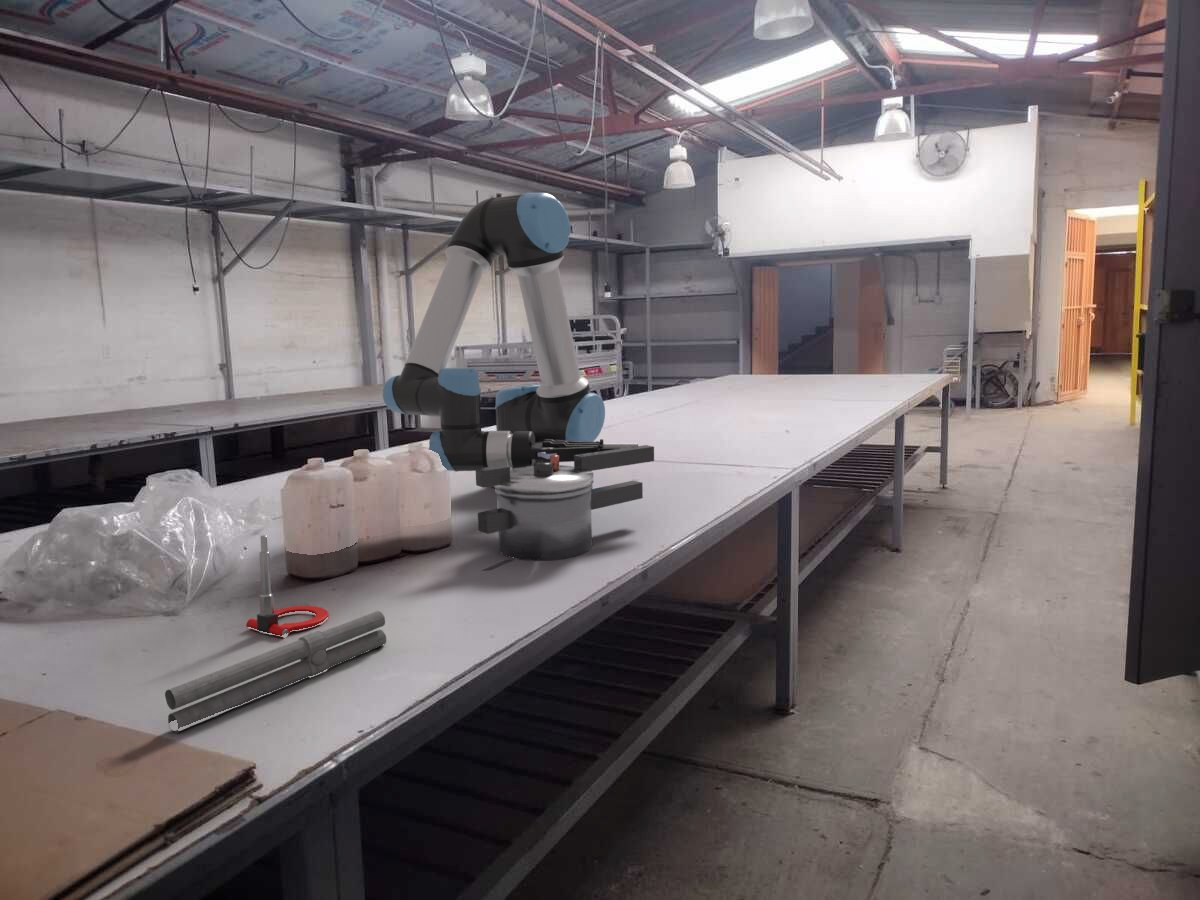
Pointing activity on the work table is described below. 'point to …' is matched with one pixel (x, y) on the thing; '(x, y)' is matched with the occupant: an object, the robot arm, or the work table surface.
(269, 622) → the tow hook
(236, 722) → the work table surface
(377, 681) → the work table surface
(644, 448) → the lid
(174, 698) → the metal rod assembly
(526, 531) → the pot
